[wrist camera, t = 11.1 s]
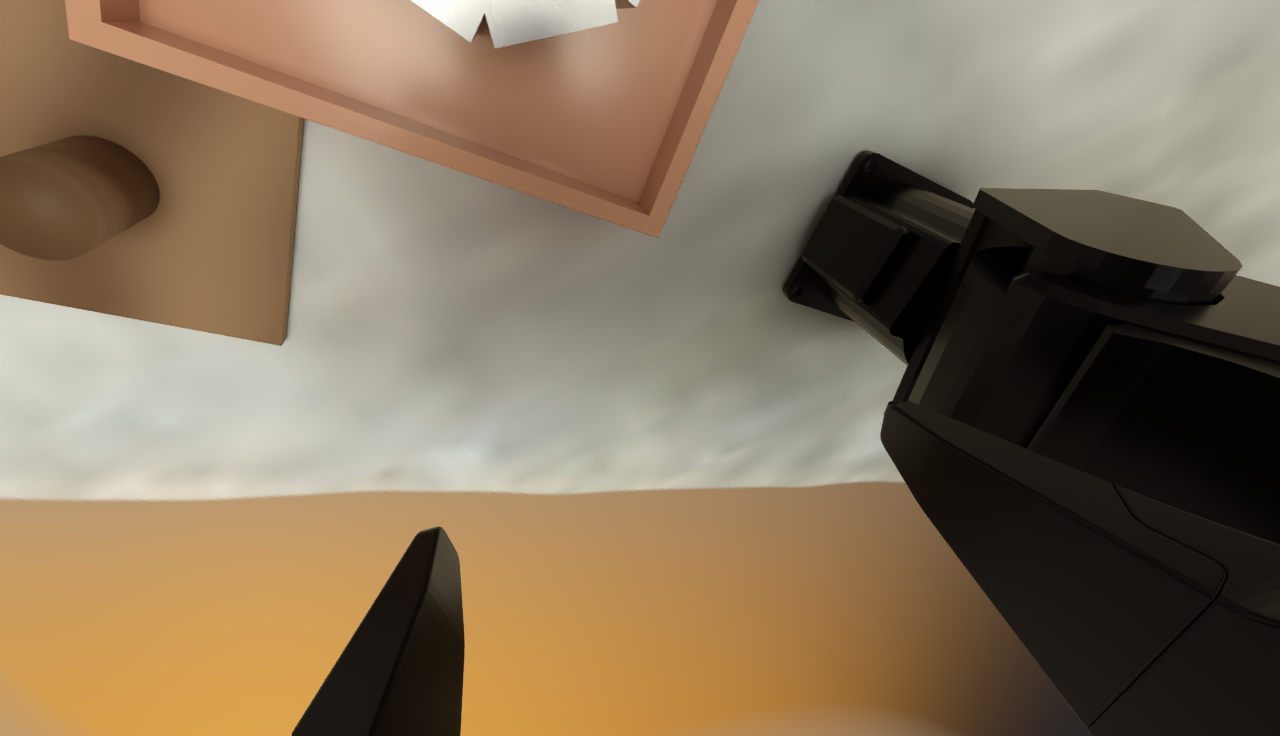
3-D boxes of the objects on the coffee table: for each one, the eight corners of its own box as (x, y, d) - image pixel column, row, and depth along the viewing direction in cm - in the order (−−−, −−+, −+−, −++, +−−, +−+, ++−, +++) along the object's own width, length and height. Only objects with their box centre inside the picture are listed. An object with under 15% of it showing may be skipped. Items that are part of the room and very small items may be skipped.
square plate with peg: (306, 77, 15) (263, 92, 12) (285, 338, 19) (250, 395, 16) (-167, -96, 11) (-387, -134, 8) (-69, 272, 15) (-195, 329, 12)
